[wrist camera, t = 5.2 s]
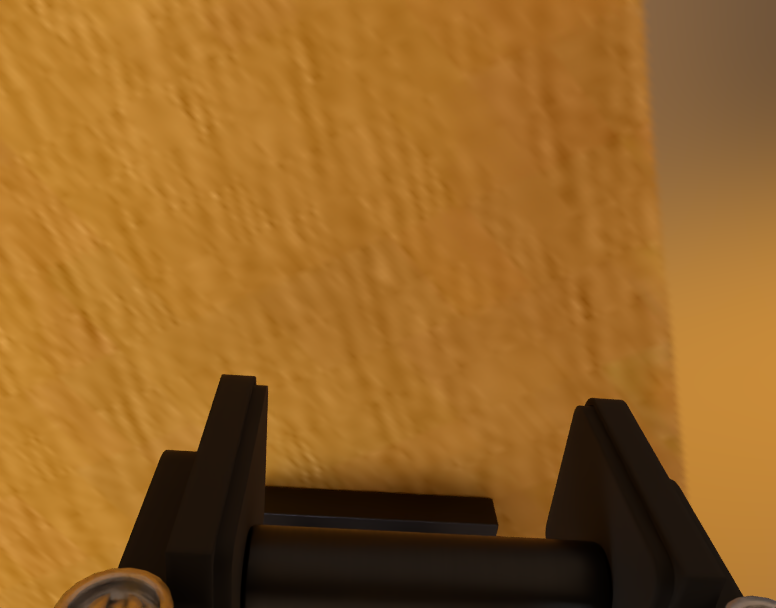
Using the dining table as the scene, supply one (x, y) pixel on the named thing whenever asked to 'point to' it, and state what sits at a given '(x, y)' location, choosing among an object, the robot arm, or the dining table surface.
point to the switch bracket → (379, 511)
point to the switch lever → (419, 570)
